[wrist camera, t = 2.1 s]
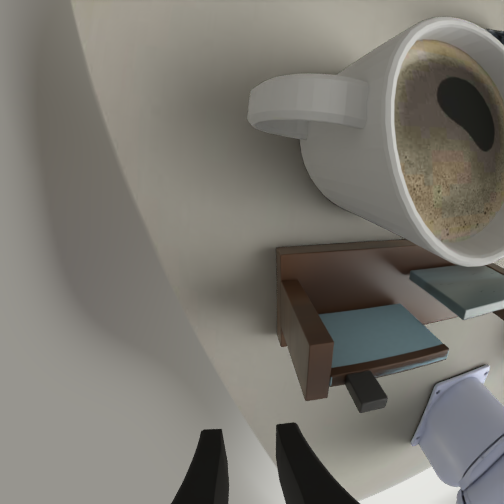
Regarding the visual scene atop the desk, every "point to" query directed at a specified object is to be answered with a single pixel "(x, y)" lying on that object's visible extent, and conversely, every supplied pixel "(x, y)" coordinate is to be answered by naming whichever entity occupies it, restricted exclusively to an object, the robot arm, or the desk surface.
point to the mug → (406, 136)
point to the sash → (377, 350)
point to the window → (370, 294)
